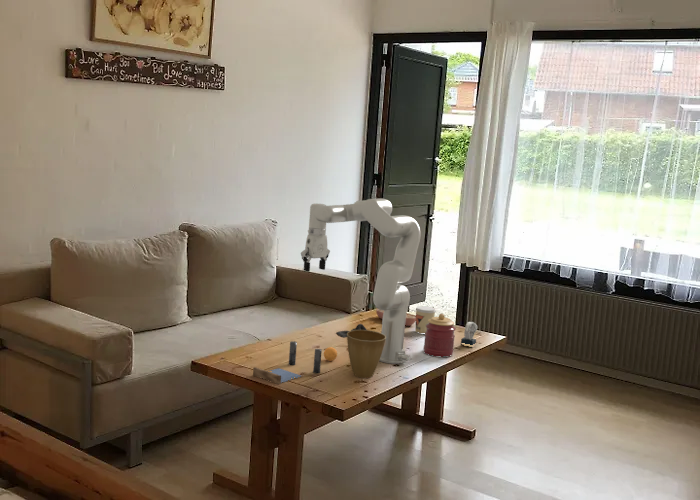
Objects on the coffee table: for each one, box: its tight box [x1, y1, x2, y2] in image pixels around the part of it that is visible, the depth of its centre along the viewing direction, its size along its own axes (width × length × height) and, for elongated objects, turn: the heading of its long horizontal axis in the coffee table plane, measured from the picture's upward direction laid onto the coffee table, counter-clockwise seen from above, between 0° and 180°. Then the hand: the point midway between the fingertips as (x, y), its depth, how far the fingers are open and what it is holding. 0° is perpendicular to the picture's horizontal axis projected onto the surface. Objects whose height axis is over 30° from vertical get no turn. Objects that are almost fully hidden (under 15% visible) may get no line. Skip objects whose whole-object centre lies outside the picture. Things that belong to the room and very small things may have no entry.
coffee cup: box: [415, 305, 436, 333], centre depth 364 cm, size 9×9×12 cm
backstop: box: [252, 366, 282, 385], centre depth 278 cm, size 13×1×3 cm, turn 53°
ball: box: [323, 346, 338, 362], centre depth 307 cm, size 6×6×6 cm
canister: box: [423, 313, 456, 358], centre depth 330 cm, size 13×13×18 cm
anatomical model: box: [375, 308, 416, 327], centre depth 380 cm, size 23×10×5 cm, turn 49°
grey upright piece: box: [460, 321, 478, 345], centre depth 347 cm, size 6×8×11 cm
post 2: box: [312, 348, 323, 374], centre depth 291 cm, size 3×3×9 cm
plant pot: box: [346, 329, 386, 379], centre depth 291 cm, size 15×15×16 cm
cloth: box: [336, 323, 368, 339], centre depth 349 cm, size 22×19×6 cm
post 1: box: [288, 340, 298, 366], centre depth 298 cm, size 3×3×9 cm
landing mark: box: [270, 367, 302, 384], centre depth 284 cm, size 12×12×1 cm
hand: (314, 270), depth 337 cm, fingers open, 9 cm apart
